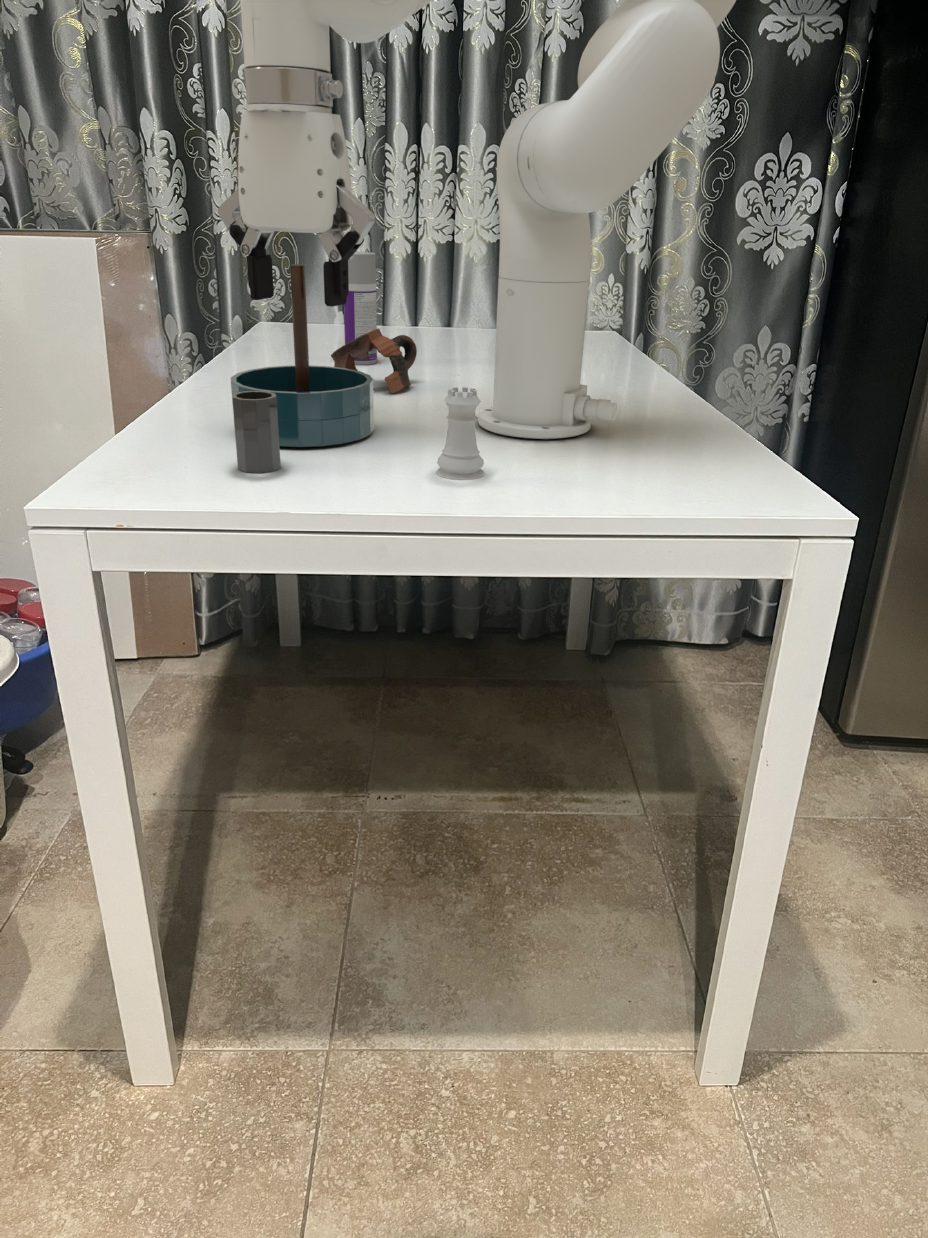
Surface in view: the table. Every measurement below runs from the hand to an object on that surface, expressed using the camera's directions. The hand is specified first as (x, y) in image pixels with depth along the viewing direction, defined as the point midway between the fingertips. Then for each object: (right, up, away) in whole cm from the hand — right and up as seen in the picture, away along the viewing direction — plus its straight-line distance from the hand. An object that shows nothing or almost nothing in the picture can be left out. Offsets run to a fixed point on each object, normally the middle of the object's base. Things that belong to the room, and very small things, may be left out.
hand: (298, 300), depth 89 cm
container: (+1, +7, +45) cm, 46 cm away
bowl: (0, -12, +6) cm, 14 cm away
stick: (0, -11, +5) cm, 13 cm away
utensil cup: (-2, -18, -6) cm, 19 cm away
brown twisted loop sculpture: (+5, -1, +30) cm, 30 cm away
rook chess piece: (+16, -18, -6) cm, 25 cm away
